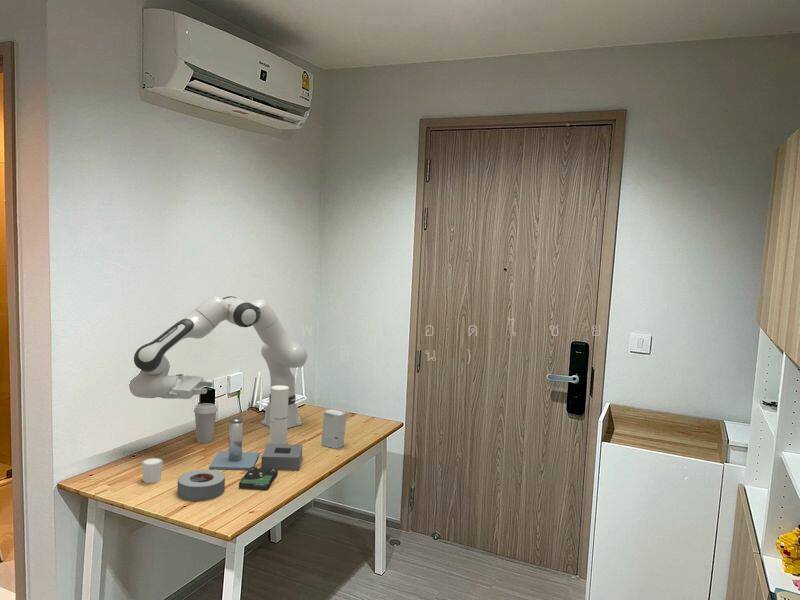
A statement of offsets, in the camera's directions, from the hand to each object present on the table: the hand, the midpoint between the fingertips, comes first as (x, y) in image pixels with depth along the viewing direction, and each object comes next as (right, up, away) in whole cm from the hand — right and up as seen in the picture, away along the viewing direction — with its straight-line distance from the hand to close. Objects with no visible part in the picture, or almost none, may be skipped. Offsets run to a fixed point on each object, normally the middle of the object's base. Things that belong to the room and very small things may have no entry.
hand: (209, 387), depth 234 cm
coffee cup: (-8, -25, +18) cm, 32 cm away
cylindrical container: (+23, -27, +17) cm, 39 cm away
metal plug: (+11, -27, -3) cm, 29 cm away
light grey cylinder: (-12, -29, -24) cm, 40 cm away
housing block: (+29, -29, -2) cm, 41 cm away
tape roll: (+7, -31, -31) cm, 44 cm away
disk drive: (+24, -31, -20) cm, 44 cm away
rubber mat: (+11, -28, -3) cm, 30 cm away
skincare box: (+46, -28, +21) cm, 58 cm away
